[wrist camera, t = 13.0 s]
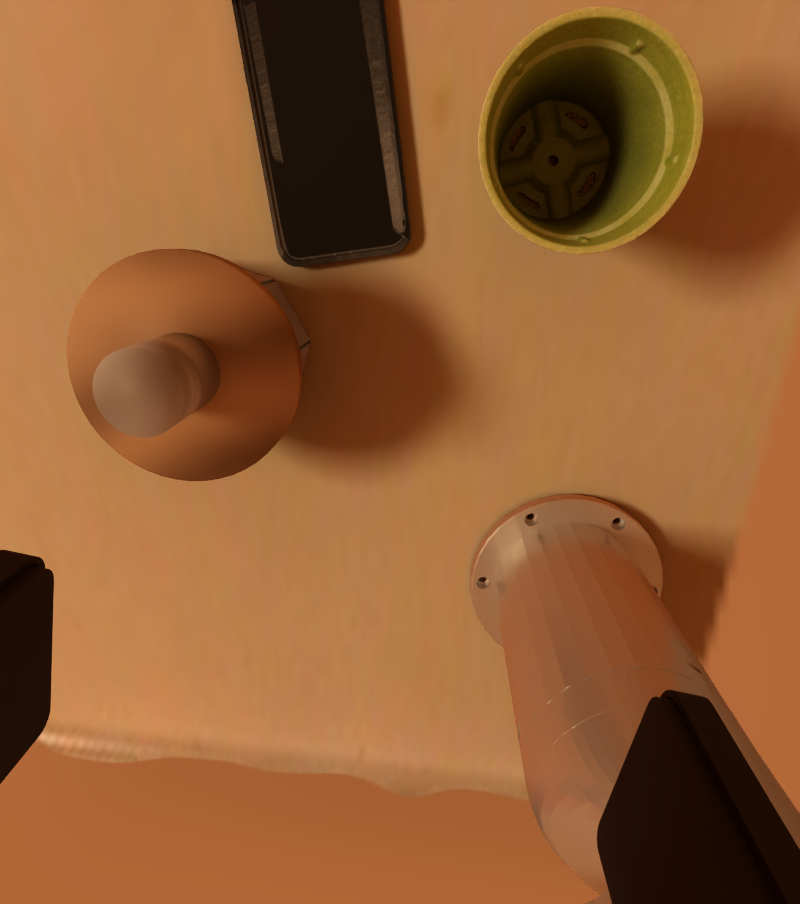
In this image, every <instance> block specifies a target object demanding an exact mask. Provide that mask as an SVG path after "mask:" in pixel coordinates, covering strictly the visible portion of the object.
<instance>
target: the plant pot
mask: <svg viewBox="0 0 800 904" xmlns="http://www.w3.org/2000/svg"><path fill="white" fill-rule="evenodd" d="M569 112H572V113H575V114H576V115H578V116H580V117H582V118H583V119H584V120H585V121H586V124H587V127H586V129H583V128H582V127H581V126H580V125H579V124H578V123H577V122H575V121H574V120H572V119H570V118H568V117H566V114H567V113H569ZM522 126H524V127H525V128H526V131H525V132H524V133H523V134H522V136H521V137H520V139H519V140H518V142H517V144H516V146H515V147H514V150H513V151H510V150H511V149H510V144H511V141H512V138H513V136H514V134H515V133H516V132H517V130H518V129H519V128H520V127H522ZM702 133H703V97H702V93H701V88H700V83H699V80H698V77H697V74H696V71H695V68H694V66H693V64H692V62H691V60H690V58H689V57H688V55H687V53H686V52H685V50H684V49H683V47H682V46H681V44H680V43H679V42H678V40H677V39H676V38H675V37H674V36H673V35H672V34H671V33H670V32H669V31H668V30H666V29H665V28H664V27H662V26H661V25H660V24H658V23H657V22H655V21H654V20H652V19H650V18H649V17H647V16H645V15H643V14H640V13H638V12H635V11H632V10H628V9H623V8H617V7H606V6H603V7H588V8H583V9H578V10H574V11H571V12H568V13H565V14H563V15H560V16H558V17H555V18H553V19H551V20H549V21H547V22H545V23H544V24H542V25H540V26H539V27H537V28H536V29H535V30H533V31H532V32H531V33H530V34H529V35H527V36H526V37H525V38H524V39H523V40H522V41H521V42H520V43H519V44H518V45H517V46H516V47H515V48H514V49H513V51H512V52H511V53H510V54H509V55H508V57H507V58H506V59H505V61H504V62H503V64H502V65H501V67H500V68H499V70H498V72H497V73H496V75H495V77H494V79H493V81H492V83H491V85H490V88H489V90H488V92H487V95H486V98H485V101H484V105H483V108H482V113H481V118H480V124H479V133H478V155H479V163H480V169H481V174H482V178H483V181H484V184H485V187H486V190H487V192H488V194H489V197H490V199H491V201H492V203H493V204H494V206H495V208H496V209H497V211H498V212H499V214H500V215H501V216H502V217H503V219H504V220H505V221H506V222H507V223H508V224H509V225H510V226H511V227H512V228H513V229H514V230H515V231H516V232H518V233H519V234H520V235H521V236H523V237H524V238H526V239H527V240H529V241H531V242H533V243H534V244H536V245H538V246H541V247H543V248H546V249H549V250H552V251H556V252H561V253H566V254H592V253H598V252H603V251H607V250H611V249H614V248H617V247H620V246H622V245H624V244H626V243H628V242H630V241H632V240H634V239H636V238H637V237H639V236H641V235H642V234H644V233H645V232H646V231H648V230H649V229H650V228H651V227H653V226H654V225H655V224H656V223H657V222H658V221H659V220H660V219H661V218H662V217H663V216H664V215H665V214H666V213H667V212H668V211H669V209H670V208H671V207H672V206H673V204H674V203H675V202H676V200H677V199H678V197H679V196H680V194H681V192H682V191H683V189H684V187H685V186H686V184H687V182H688V180H689V178H690V175H691V173H692V171H693V169H694V166H695V163H696V160H697V156H698V153H699V149H700V144H701V140H702ZM551 156H556V157H557V159H558V163H557V164H556V165H554V166H552V165H551V164H549V158H550V157H551ZM592 172H594V173H595V180H594V182H593V184H592V185H591V187H590V188H589V190H588V191H587V192H586V193H585V194H584V195H582V196H579V195H578V192H579V191H580V189H581V188H582V187H583V186H584V184H585V183H586V181H587V180H588V177H589V175H590V173H592ZM521 192H522V193H523V194H524V195H525V196H527V197H528V198H529V199H531V200H533V201H534V202H537V203H539V205H540V207H538V208H533V207H532V206H530V205H529V204H525V203H523V202H522V201H521V199H520V198H519V197H518V196H519V193H521Z"/></svg>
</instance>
